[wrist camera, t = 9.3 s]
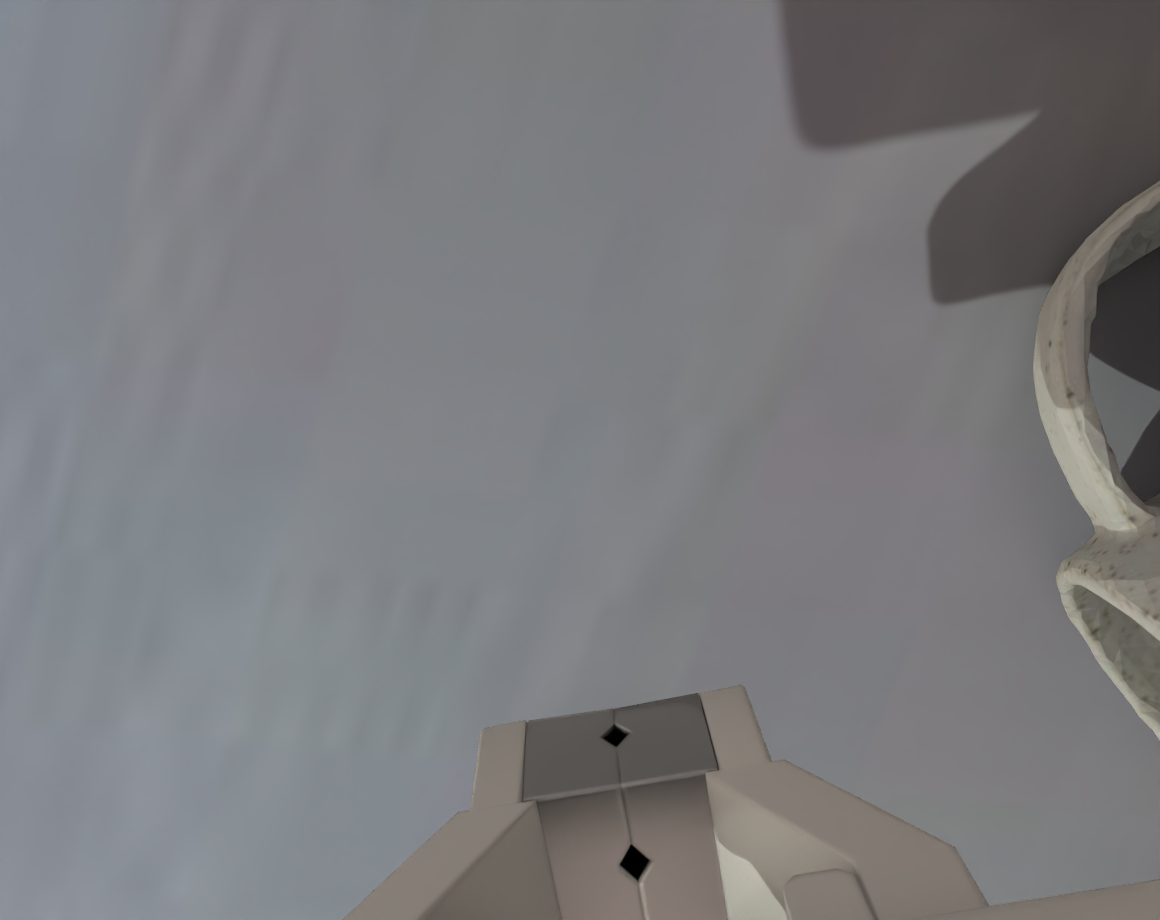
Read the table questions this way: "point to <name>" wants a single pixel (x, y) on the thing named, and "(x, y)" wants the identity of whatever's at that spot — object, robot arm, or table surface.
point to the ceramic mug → (1103, 468)
